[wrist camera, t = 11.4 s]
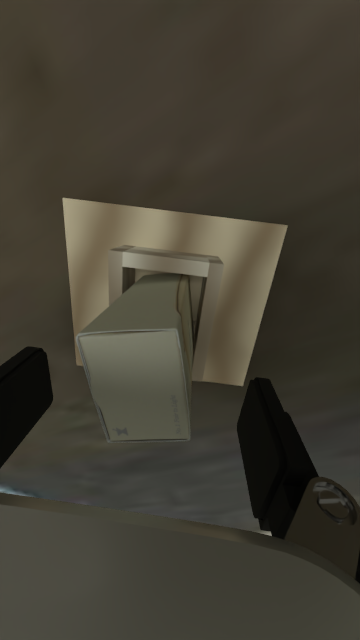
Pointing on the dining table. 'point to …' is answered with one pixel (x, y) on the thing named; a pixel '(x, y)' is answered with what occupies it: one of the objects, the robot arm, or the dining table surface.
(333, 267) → the dining table surface
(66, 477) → the dining table surface
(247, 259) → the socket stand
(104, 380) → the skincare box
